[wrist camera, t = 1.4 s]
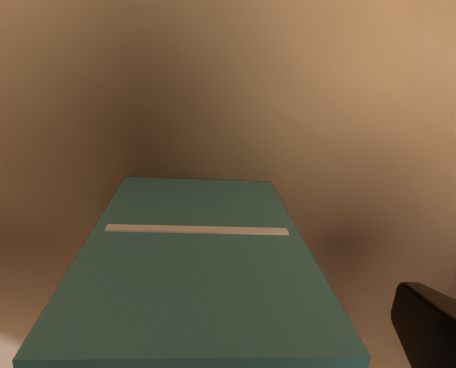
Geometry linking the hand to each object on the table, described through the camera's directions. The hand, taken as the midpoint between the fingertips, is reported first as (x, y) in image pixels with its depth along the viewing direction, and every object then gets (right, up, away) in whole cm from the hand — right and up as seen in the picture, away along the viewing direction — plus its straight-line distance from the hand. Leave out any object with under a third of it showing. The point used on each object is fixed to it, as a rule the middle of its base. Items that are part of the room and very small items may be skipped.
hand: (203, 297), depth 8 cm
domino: (-1, +2, +5) cm, 5 cm away
